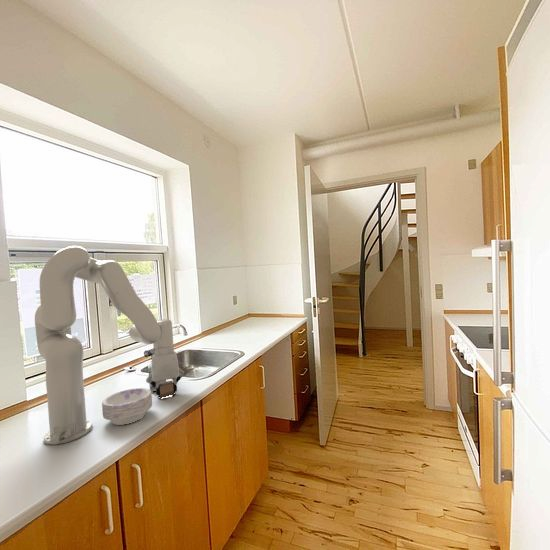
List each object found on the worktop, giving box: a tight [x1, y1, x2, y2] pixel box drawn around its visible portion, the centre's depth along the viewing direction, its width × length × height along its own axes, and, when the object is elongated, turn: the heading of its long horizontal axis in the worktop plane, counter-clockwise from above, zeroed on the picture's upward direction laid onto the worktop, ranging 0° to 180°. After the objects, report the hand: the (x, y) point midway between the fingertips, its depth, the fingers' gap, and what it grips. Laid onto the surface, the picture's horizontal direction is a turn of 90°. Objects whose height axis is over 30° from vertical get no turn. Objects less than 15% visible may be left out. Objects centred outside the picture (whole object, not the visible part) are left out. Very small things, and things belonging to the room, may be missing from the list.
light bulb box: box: [147, 360, 167, 393], centre depth 127 cm, size 11×7×11 cm, turn 22°
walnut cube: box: [159, 380, 174, 399], centre depth 117 cm, size 5×5×5 cm
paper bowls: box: [101, 387, 153, 426], centre depth 100 cm, size 15×15×8 cm
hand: (166, 394), depth 117 cm, fingers closed on walnut cube, 5 cm apart
